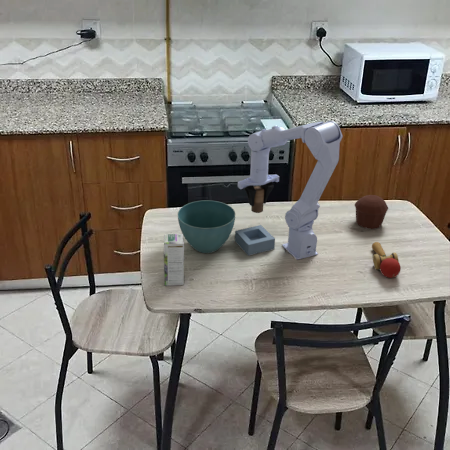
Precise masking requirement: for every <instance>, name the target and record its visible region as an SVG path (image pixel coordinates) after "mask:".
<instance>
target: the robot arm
mask: <svg viewBox="0 0 450 450" xmlns="http://www.w3.org/2000/svg"><path fill="white" fill-rule="evenodd" d="M343 137H344V136H343V133H342V131H341V127H340V126H339V124H338V123H337V122H335V120H327V121H318V122H317V121H316V122H311V123H306V124H303V125H302V124H301V125H299V126H294V127H290V128H288V129H286V128H284V127H282V126H278V125H273V126H271V128H269V129H268V128H263V129H261V130H260V131H256V132H254V133H251V134H249V136H248V138H247V145H248V147H249V148H250V151H251V152H250V153H251V154H250V174H249V177H247V178H244V179H243V180H239V181H237V188H238V189H240V190H242V189H244V190H245V192H246V193H245V194H246V195H247V199H248V204H249V206H250V207H251V206H254V198H255V193H256V190H255V189H254V187H256V186H260V187H263V188H264V203H263V205H265V204H266V203H267V200H268V198H269V196H270V194H271V192H272V191H273V189H274V186H275V185H274V184H273V183H274V182H276V183H278V182H280V176H279V175H278V174H269V162H270V161H269V157H270V152H271V148H276V147H277V148H278V147H281V146H284V145H286V144H287V143H288V141H291V140H297V139H301V141H302V143H303V144H306V146H307V148H308V150H309V151H310V153H311V154H312V156H313V157H314V158H315V160H317V162H316V164H315V166H314V168H313V171H312V172H311V174H310V177H309V179H308V180H307V183H306V185H305V187H304V189H303V191H302V194H301V195H300V197H299V199H298V200H297V201H296V202H295V203H294V204H292V206H291V208H290V209H289V210H288V211H286V213H285V215H284V219H285V224H286V225H287V227H289V228H288V239H287V242H286V243H283V244H281V247H283V248H284V249H285V250H286V251H287V252H288V253H289V254H290V255H291V256H292V257H294V259H296V260H302V259H305V258H309V257H313V256H317V255H318V254H319V253H318V252H317V244H318V243H317V242H318V237H317V235H316V234H315V233H314V230H313V225H314V221H315V220H317V219H318V217H319V209H320V207H321V206H320V204H319V200H320V199H321V196H322V195H323V193H324V190H325V189H326V186H327V185H328V183H329V181H330V179H331V176H332V175H333V173H334V171H335V169H336V166H337V165H338V163H339V160H340V148H341V147H340V144H341V142H342V139H343Z"/></svg>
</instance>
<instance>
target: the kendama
mask: <svg viewBox="0 0 450 450" xmlns="http://www.w3.org/2000/svg"><path fill="white" fill-rule="evenodd" d="M371 248H372V250H373V251H374V252H375V254H373V257H372V261H373V266H375V267H374V269H375V270H376V271H379V270H380V273H381V274H382V276H384V277H385V278H388V279H394V278H396V277H398V275H399V274H400V273H401V270H402V269H401V268H402V267H401V264H400V261H399V256H398V254H397V252H392V253H391V254H390V255H388V256H387V255H386V252H385V250H384V247H382V245H381V243H380V242H379V241H375V242H373V243H372V245H371Z"/></svg>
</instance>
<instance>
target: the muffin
mask: <svg viewBox="0 0 450 450" xmlns="http://www.w3.org/2000/svg"><path fill="white" fill-rule="evenodd" d="M354 207H355V221H356V223H357V226H360V227H362V228H363V229H369V230H375V229H380V227H381V226H382V225H383V223H384V220H385V216H386V214H387V212H388V210H389V207H388V205H387V202H386V201H385V200H384V198H382V197H381V196H378V195H375V194H367V195H364V196H362V197H360V198H359V199H357V201H356V202H355V203H354Z"/></svg>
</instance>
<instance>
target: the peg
mask: <svg viewBox="0 0 450 450" xmlns="http://www.w3.org/2000/svg"><path fill="white" fill-rule="evenodd" d="M253 187H254V189H255V190H256V193H255V198H254V206H251V205H250V207H251V209H250V210H251V212H252V213H255V214H261V213H263V212H264V188H263V187H261V185H255V186H253Z"/></svg>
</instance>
